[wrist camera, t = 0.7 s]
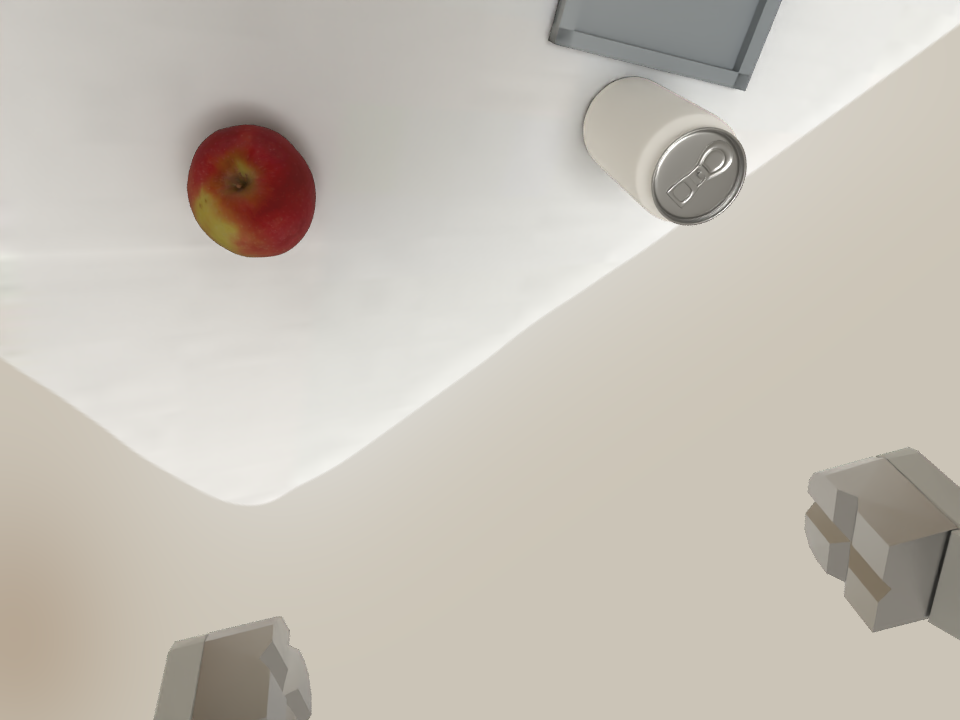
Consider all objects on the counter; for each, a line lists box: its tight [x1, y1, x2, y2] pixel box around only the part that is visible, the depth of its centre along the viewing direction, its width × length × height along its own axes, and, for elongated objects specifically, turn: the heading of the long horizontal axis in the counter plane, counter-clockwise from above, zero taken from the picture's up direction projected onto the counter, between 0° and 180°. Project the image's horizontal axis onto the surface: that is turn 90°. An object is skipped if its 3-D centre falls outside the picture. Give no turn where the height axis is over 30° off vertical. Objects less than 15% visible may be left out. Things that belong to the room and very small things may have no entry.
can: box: [583, 77, 747, 225], centre depth 45 cm, size 6×6×12 cm
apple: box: [187, 125, 316, 257], centre depth 44 cm, size 8×8×8 cm
